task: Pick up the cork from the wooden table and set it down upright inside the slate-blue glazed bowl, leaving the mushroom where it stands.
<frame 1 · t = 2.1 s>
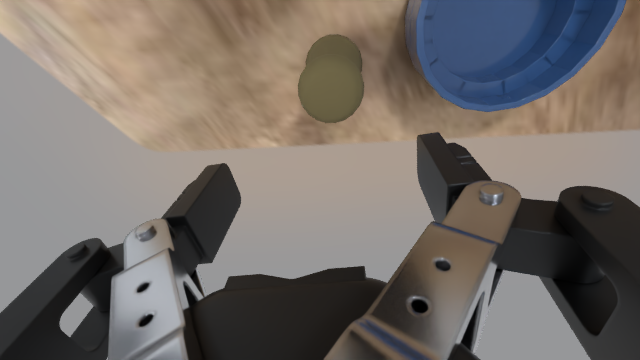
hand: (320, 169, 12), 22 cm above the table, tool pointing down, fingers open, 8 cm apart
bowl: (486, 13, 27), on the table
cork: (333, 65, 30), on the table
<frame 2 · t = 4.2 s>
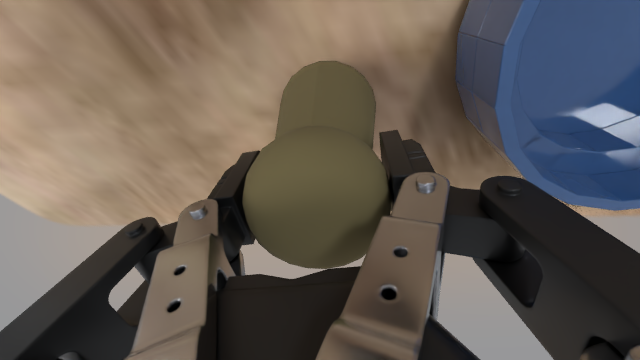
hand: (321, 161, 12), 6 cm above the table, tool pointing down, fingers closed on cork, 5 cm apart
bowl: (608, 25, 14), on the table
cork: (327, 110, 18), on the table, touching gripper
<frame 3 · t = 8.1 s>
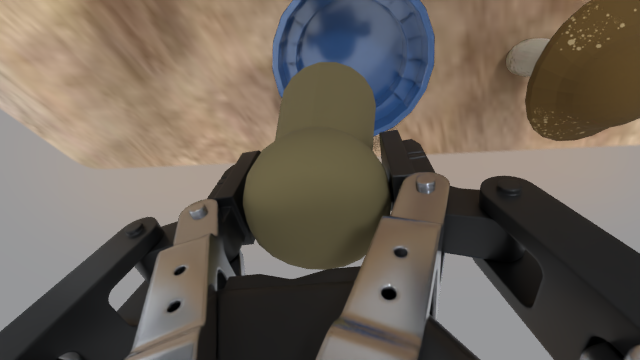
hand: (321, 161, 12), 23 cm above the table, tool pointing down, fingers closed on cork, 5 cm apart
mushroom: (520, 49, 30), on the table
bowl: (350, 56, 31), on the table
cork: (327, 111, 18), point 16 cm above the table, touching gripper
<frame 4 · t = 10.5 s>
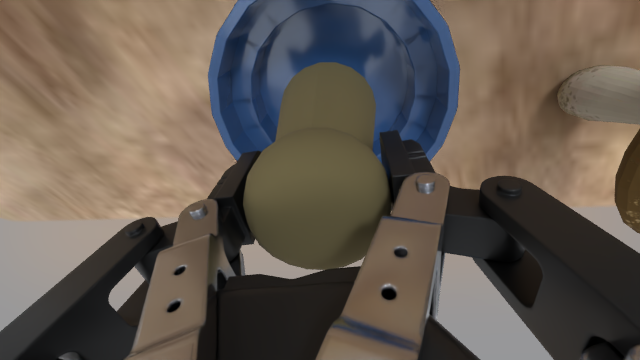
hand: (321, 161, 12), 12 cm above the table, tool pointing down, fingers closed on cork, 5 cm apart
mushroom: (578, 78, 21), on the table
bowl: (332, 87, 22), on the table
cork: (328, 111, 18), point 5 cm above the table, touching gripper
when the fingers open (7 cm above the table, at t = 12.2 s): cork stays where it is, resting on bowl.
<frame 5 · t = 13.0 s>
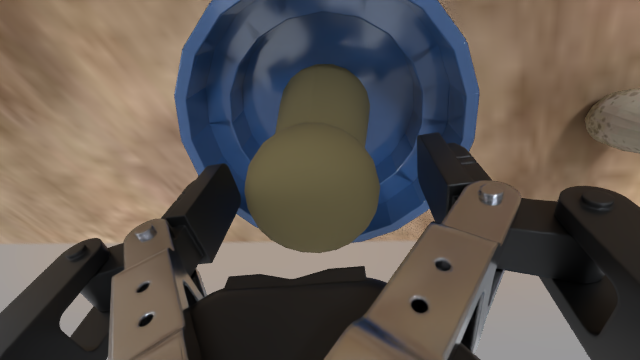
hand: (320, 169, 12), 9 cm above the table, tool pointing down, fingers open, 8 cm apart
mushroom: (609, 101, 18), on the table
bowl: (326, 106, 19), on the table
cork: (324, 110, 19), resting on bowl
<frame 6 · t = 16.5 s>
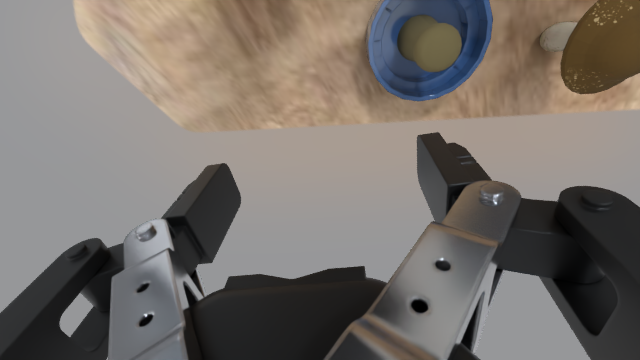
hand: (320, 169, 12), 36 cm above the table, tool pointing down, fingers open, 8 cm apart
mushroom: (550, 31, 39), on the table
bowl: (418, 37, 41), on the table
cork: (418, 38, 40), resting on bowl
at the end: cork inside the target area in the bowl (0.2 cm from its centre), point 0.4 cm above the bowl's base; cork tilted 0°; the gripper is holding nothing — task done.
